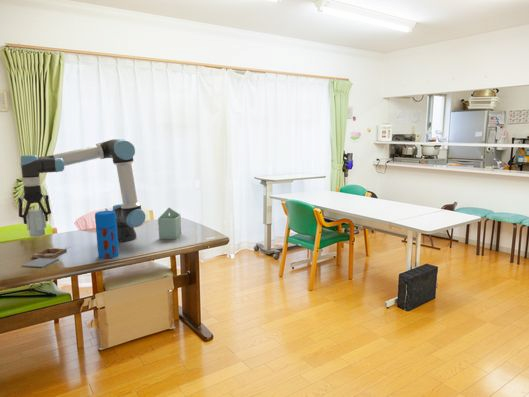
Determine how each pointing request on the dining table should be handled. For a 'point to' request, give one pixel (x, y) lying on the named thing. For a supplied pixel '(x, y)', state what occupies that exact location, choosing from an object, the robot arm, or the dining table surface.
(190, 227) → the dining table surface
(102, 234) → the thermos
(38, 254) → the frame
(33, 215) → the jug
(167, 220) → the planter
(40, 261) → the coaster
